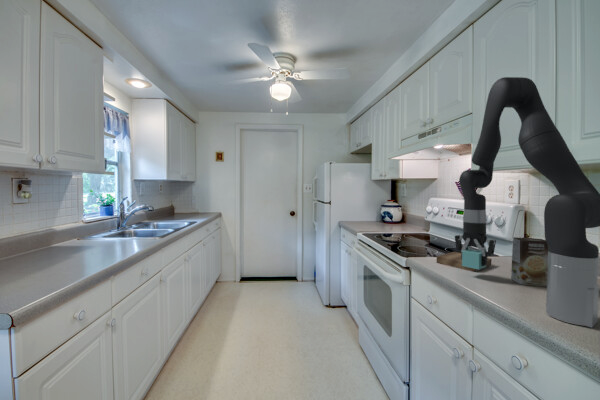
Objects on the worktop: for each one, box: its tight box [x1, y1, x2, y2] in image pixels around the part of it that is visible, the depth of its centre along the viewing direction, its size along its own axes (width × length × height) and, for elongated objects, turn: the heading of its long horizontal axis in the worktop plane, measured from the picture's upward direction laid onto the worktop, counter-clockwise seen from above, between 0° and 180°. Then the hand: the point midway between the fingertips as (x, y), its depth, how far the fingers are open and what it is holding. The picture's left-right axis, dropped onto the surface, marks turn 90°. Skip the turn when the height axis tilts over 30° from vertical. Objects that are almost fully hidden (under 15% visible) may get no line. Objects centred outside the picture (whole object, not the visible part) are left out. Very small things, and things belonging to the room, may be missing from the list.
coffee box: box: [510, 236, 548, 288], centre depth 95 cm, size 9×6×16 cm
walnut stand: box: [436, 251, 492, 272], centre depth 119 cm, size 16×16×3 cm
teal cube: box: [462, 248, 487, 271], centre depth 103 cm, size 6×6×6 cm
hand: (474, 263), depth 103 cm, fingers closed on teal cube, 6 cm apart
